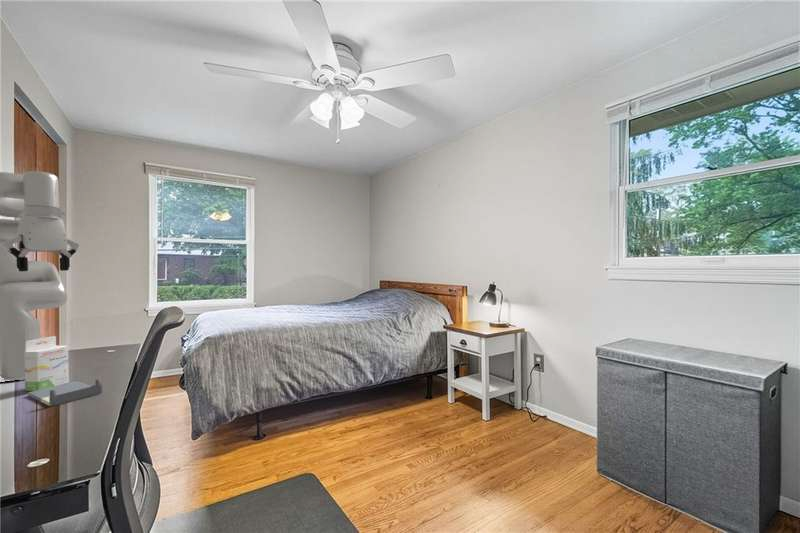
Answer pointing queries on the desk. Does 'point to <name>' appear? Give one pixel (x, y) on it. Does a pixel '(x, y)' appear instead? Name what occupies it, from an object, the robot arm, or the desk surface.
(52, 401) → the tray
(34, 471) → the desk surface
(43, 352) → the ink box
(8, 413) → the desk surface
